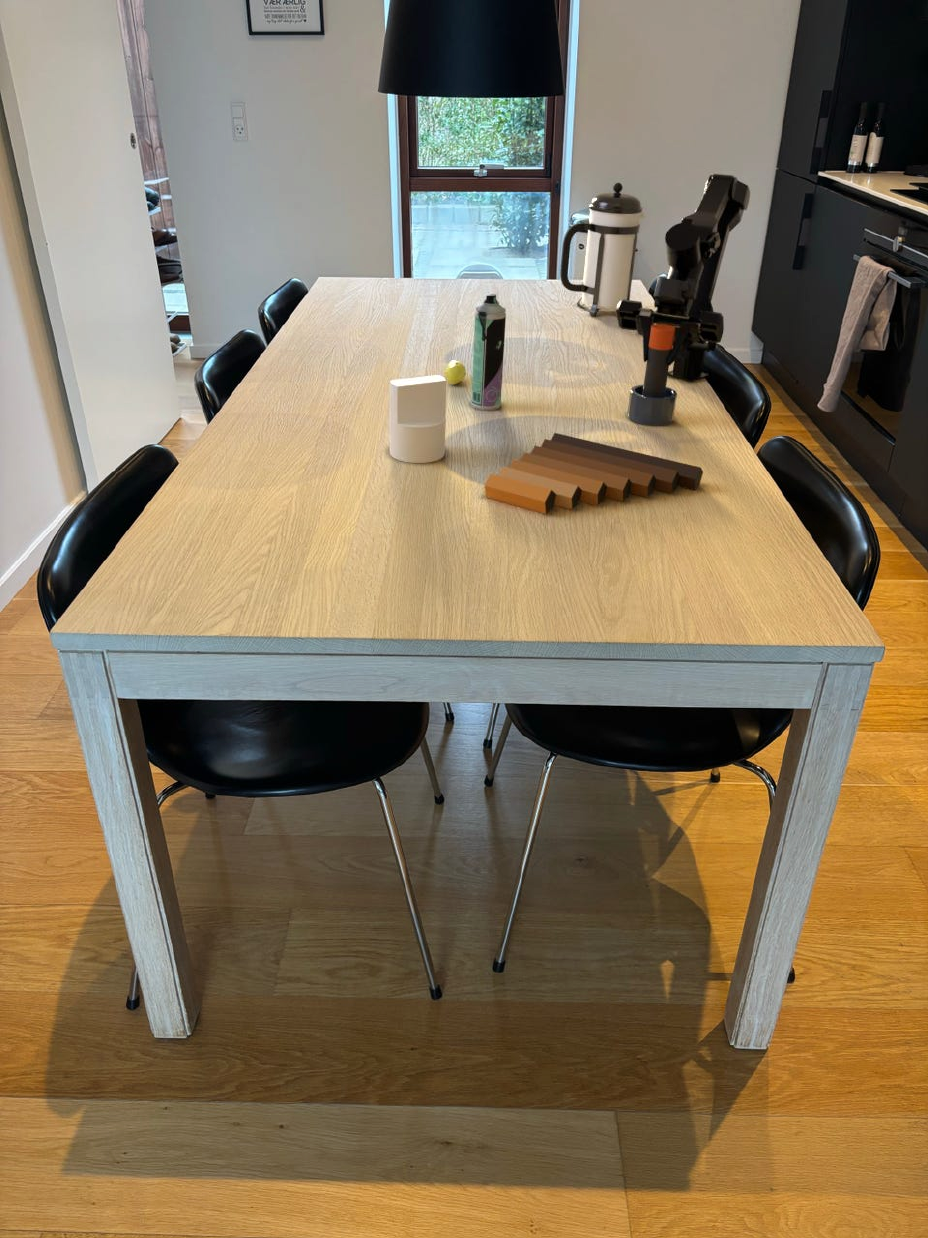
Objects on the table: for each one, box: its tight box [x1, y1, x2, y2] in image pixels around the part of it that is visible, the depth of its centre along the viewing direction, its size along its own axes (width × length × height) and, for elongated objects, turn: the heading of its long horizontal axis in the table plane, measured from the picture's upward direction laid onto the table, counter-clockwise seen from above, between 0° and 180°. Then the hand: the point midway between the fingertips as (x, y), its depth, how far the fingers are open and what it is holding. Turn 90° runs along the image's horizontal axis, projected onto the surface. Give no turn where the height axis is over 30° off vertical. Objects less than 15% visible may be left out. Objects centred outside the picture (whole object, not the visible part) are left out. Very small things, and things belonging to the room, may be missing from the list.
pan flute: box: [484, 432, 704, 515], centre depth 146 cm, size 25×3×25 cm
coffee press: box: [559, 182, 646, 317], centre depth 237 cm, size 17×16×30 cm
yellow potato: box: [444, 360, 467, 385], centre depth 190 cm, size 4×8×4 cm, turn 172°
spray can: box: [470, 293, 507, 411], centre depth 174 cm, size 6×6×20 cm
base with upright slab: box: [389, 374, 447, 464], centre depth 155 cm, size 9×9×12 cm
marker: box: [642, 324, 675, 398], centre depth 171 cm, size 4×4×12 cm
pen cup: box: [627, 384, 678, 427], centre depth 175 cm, size 8×8×5 cm
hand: (656, 362), depth 170 cm, fingers closed on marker, 4 cm apart
